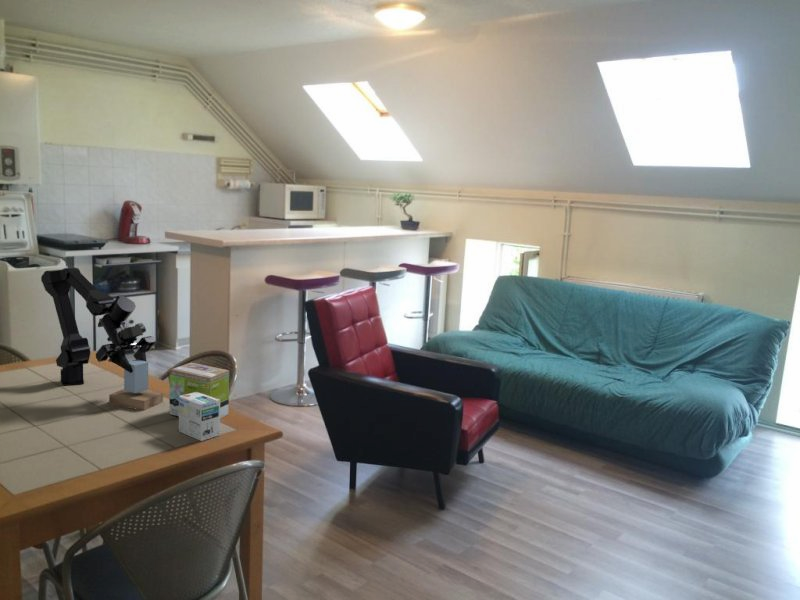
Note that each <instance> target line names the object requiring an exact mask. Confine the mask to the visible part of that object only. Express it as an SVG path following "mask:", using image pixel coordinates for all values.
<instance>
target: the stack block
mask: <svg viewBox="0 0 800 600" xmlns="http://www.w3.org/2000/svg"><path fill="white" fill-rule="evenodd" d="M108 395H109V397H108V398H109V399H108V400H109V402H108V404H109V405H111V404H112V405H111V406H117V405H118V407H122V406H125V407H124V408H127V407H131V408H130V409H133V408H136V409H135V410H138V409H140V410H139V411H144V412H145V411H146V410H149V409H151V408H153V407H155V405H156V406H157V405H159V404H162V403H163V402H164V393H163V392H159V391H154V390H149V389H148V390H145V391H142V392H138V393H132V392H129V391H126V390H124V389H120V390H116V391H115V392H112V393H109V394H108Z"/></svg>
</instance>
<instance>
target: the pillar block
mask: <svg viewBox="0 0 800 600" xmlns="http://www.w3.org/2000/svg"><path fill="white" fill-rule="evenodd" d="M146 361H147V360H146ZM146 361H142V360H139V359H137V360H136V359H134V360H133V359H132V360H128V362H129V364H130V365H131V367H132V370H133V372H132V373H130V372H128V371H126V370H125V369H123V370H124V371H123V380H124V381H123V382H124V383H123V385H124V386H123V387H124V390H126V391H129V392H132V393H138V392H142V391H145V390H149V362H148V361H147V362H146Z"/></svg>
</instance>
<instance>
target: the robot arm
mask: <svg viewBox="0 0 800 600" xmlns="http://www.w3.org/2000/svg"><path fill="white" fill-rule="evenodd" d="M40 279H41V280H40V281H41V282H42V286H43V288H44V290H45V292H46V293H48V295H50V296H51V298H52V299H53V303H54V307H55V308H54V309H55V312H56V314H57V318H58V319H57V320H58V323H59V326H60V331H61V333H62V337H63V339H62V342H61V345H60V352H61V353H60V354H59V355H58V357H56V359H55V362H56V366H57V367H59V368H60V383H61V384H62V386H72V385H73V386H74V385H84V384H85V380H84V365H88V364H89V362H90V361H89V360H90V357H91V346H90V344H89V340H88V338H87V337H83V336H82V335H81V334H80V332H79V328H78V323H77V320H76V316H75V313H74V309H73V306H72V302H71V298H70V292H71V288H73V289H74V290H75V291H76V292H77V294H79V295H80V296H81V297H82V298H83V299H84V301H85V307H86V308H87V310H88V311H89V313H90V314H91V315H92V316H94V317H98V316H102V317H101V318H98V319H99V320H98V323H97V327H98V328H103V329H104V331H105V332H106V335H107V336H108V337H107V338H106V341H108V342H111V343H107V344H102V345H101V346H100V348H99V349H98V350H97V351H96V352H95V359H96V360H97V362H99V363H100V362H106V361H108V363H113V364H115V365H116V366H118V367H120V368H122V369H123V370H124V369H125V370H126V371H128V372H130V373H132V372H133V370H132V367H131V365H130V364H129V362H128V361H129V360H128V358H127V357H126V352H128V351H129V352H130V351H133V352H134V354H133V355H132V357H134V360H137V359H139V360H142V361H146V362H148V361H147V354H146V353H148V352H149V351H150V350H151V349H152V348H153V347H154V346H155V345H156V343H157V341H156V338H155V337H154V336H152V335H150V336H149V335H148V336H144V337H141V338H140V339H139V340H138V337H139V336H143V335H144V333H147V332H146V331H147V328H146V326H145V324H144V323H143V322H138V323H135V325H133V326H125V324H124V322H126V321H127V319H128V318H129V317H130V316H131V315H132V314H133V312H134V311H135V309H136V304H135V302H134V301H133V300H132V299H130V298H128V297H126V296H124V295H125V294H118V295H117V296H116V297H115V299H114V298H113V296H111V295H109V294H108V293H106V292H103V291H100V290H98V289H97V287H95V286H94V285H93V284H92V283H91V282H90V281H89V279H88V278H86V277H85V276H84V274H82V273H81V270H80V268H79V267H64V268H63V269H55V270H54V269H53V270H52V269H51V270H44V272H43V274H41V278H40ZM137 340H138V342H136V341H137Z"/></svg>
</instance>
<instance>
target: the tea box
mask: <svg viewBox="0 0 800 600" xmlns="http://www.w3.org/2000/svg"><path fill="white" fill-rule="evenodd" d="M194 392H199V393H202V394H205V395H207V396H210V397H213V398H217V399H220V419H222V418H224V417H227V416H228V415H229V403H230V402H229V399H230V397H229V396H230V369H229V370H228V369H223V368H220V367H215V366H209V365H206V364H205V365H204V364H200V363H195V362H191V361H190V362H189V363H185V364H183V365H179V366H177V367H174V368H171V369H169V402H168V403H169V415H171V416H176V417H179V396H181V395H186V394H190V393H194Z"/></svg>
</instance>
